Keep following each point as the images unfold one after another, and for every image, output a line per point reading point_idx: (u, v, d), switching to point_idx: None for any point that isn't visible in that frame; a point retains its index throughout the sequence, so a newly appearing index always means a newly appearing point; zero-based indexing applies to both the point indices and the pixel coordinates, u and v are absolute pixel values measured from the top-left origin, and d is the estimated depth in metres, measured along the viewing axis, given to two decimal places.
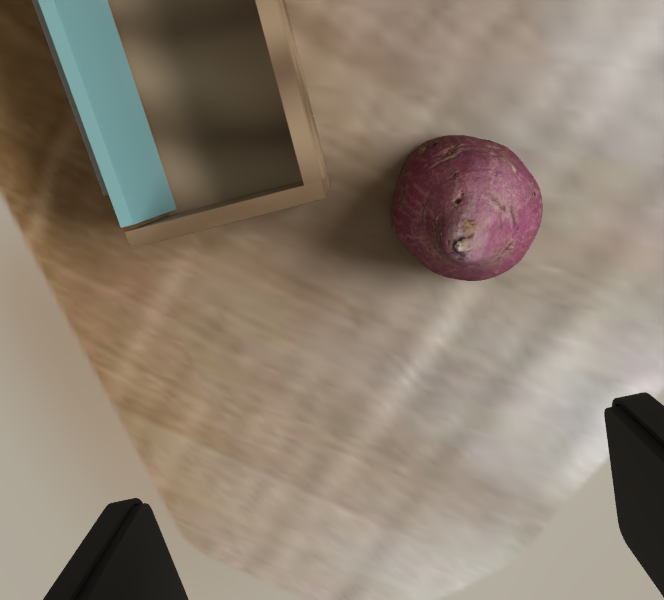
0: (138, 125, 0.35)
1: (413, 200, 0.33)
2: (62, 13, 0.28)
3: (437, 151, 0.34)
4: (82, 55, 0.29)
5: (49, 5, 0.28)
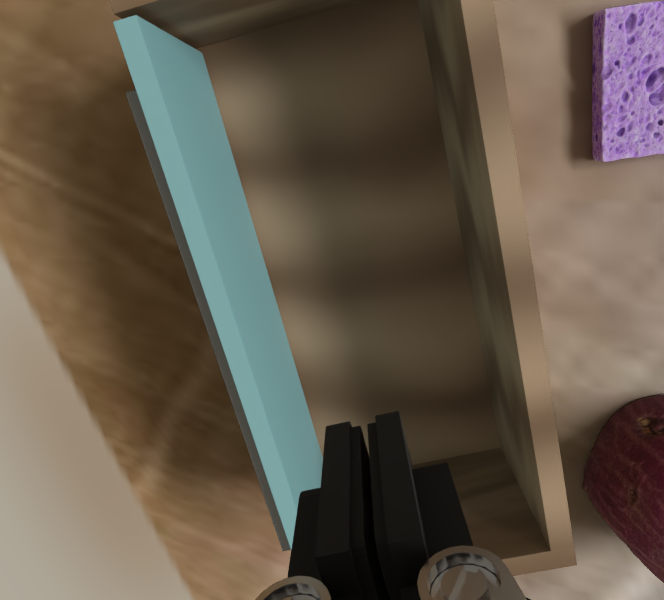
0: (300, 409, 0.28)
1: (661, 526, 0.26)
2: (250, 354, 0.21)
3: None
4: (267, 393, 0.22)
5: (238, 354, 0.20)
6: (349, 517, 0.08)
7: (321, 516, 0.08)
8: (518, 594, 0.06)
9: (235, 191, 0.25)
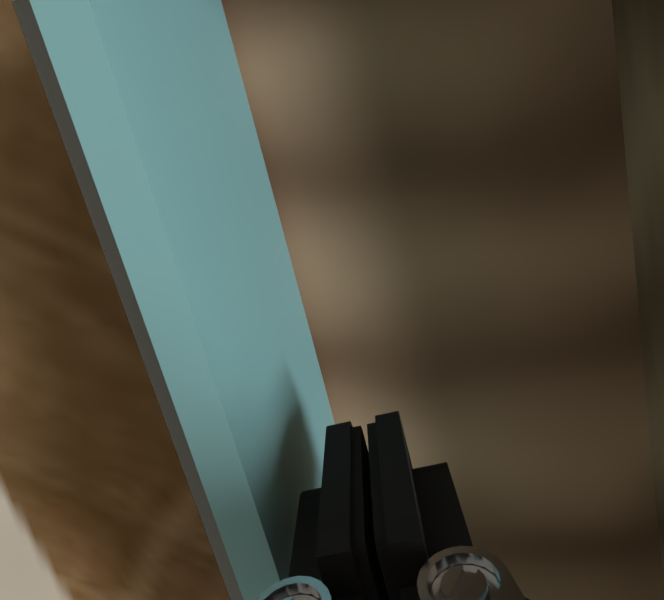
0: None
1: None
2: (288, 567, 0.10)
3: None
4: None
5: (262, 577, 0.10)
6: (349, 517, 0.08)
7: (321, 516, 0.08)
8: (517, 594, 0.06)
9: (265, 219, 0.14)
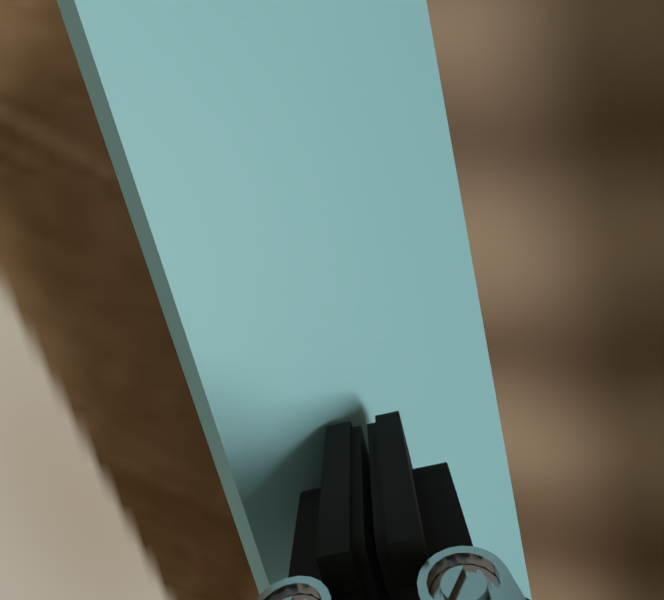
0: None
1: None
2: (285, 551, 0.11)
3: None
4: None
5: (252, 548, 0.11)
6: (349, 517, 0.08)
7: (321, 516, 0.08)
8: (518, 594, 0.06)
9: (413, 198, 0.13)
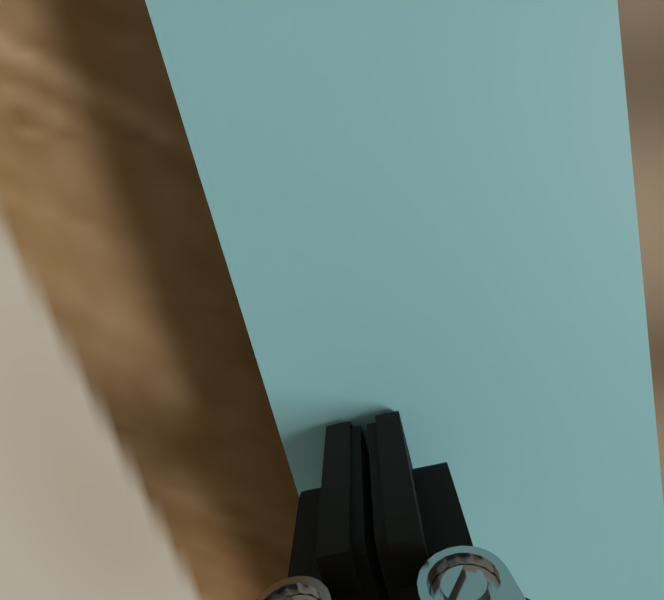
0: None
1: None
2: None
3: None
4: None
5: None
6: (349, 517, 0.08)
7: (321, 516, 0.08)
8: (518, 594, 0.06)
9: (539, 168, 0.10)
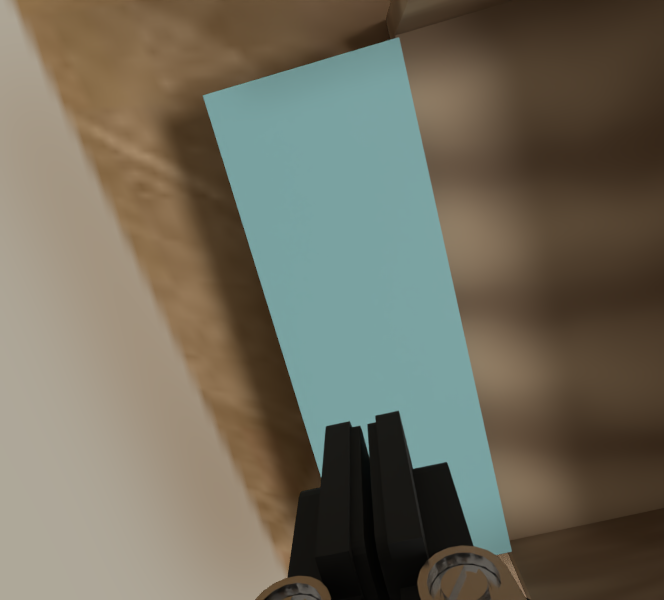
0: (448, 455, 0.25)
1: None
2: (301, 374, 0.24)
3: None
4: (326, 411, 0.24)
5: None
6: (348, 517, 0.08)
7: (321, 516, 0.08)
8: (518, 594, 0.06)
9: (394, 211, 0.22)
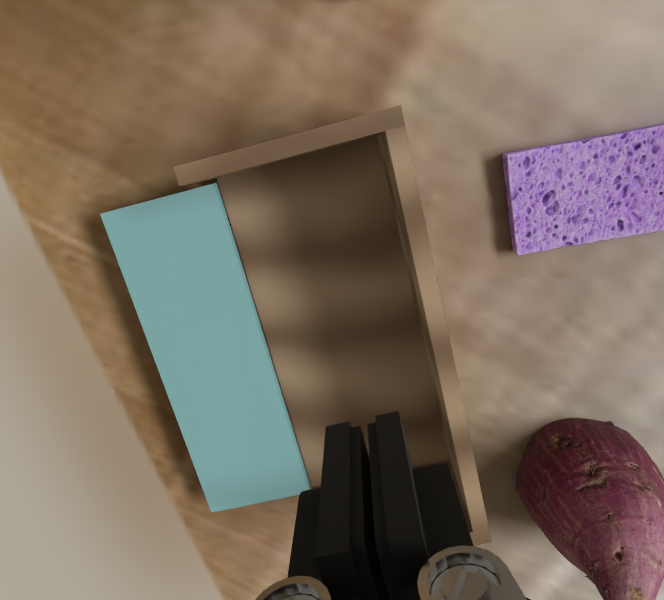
0: (264, 430, 0.39)
1: (559, 516, 0.36)
2: (169, 379, 0.38)
3: (578, 464, 0.37)
4: (186, 402, 0.39)
5: None
6: (348, 517, 0.08)
7: (321, 516, 0.08)
8: (518, 594, 0.06)
9: (218, 282, 0.36)
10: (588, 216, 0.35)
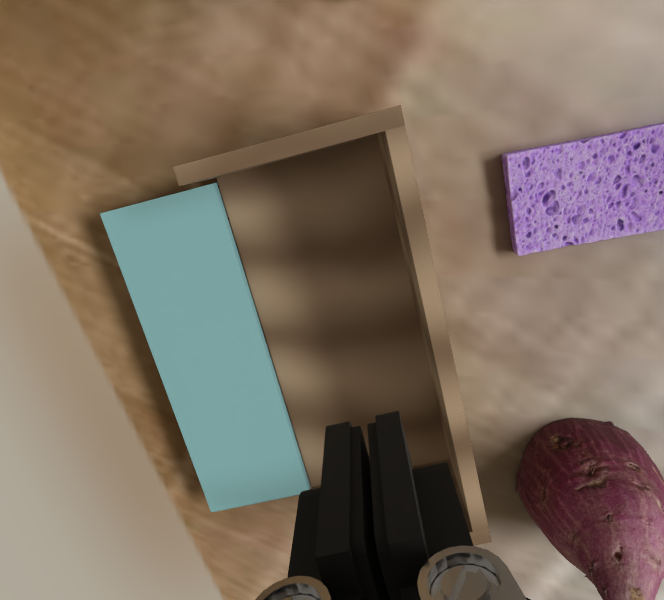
0: (264, 430, 0.39)
1: (559, 516, 0.36)
2: (168, 378, 0.38)
3: (577, 464, 0.37)
4: (185, 402, 0.39)
5: None
6: (348, 516, 0.08)
7: (321, 516, 0.08)
8: (518, 594, 0.06)
9: (218, 282, 0.36)
10: (588, 216, 0.35)
